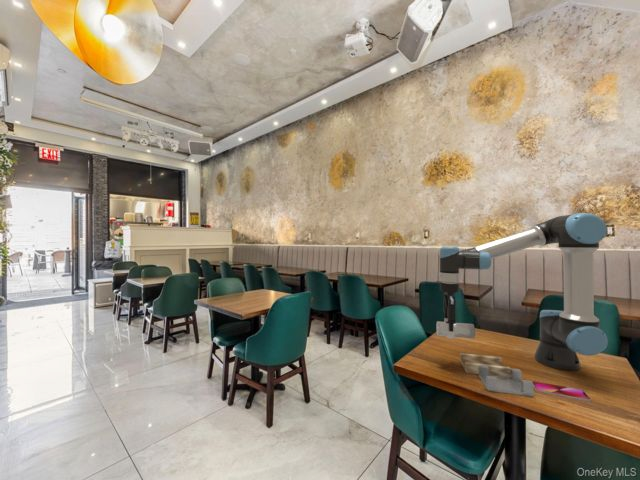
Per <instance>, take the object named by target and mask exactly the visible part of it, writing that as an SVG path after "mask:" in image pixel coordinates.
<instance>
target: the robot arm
mask: <svg viewBox="0 0 640 480" xmlns="http://www.w3.org/2000/svg"><path fill="white" fill-rule="evenodd" d="M606 224H607V223H606V222H605V221H604V219H602V218H601V217H600V216H598V215H597V214H594V213H587V212H585V213H583V212H581V213H580V212H578V213H573V214H567V215H559V216H555V217H552V218H551V219H548V220H545V221H543V222H540V223H538V224H535V225H532V226H531V227H530V229H526V230H522V231H521V232H520V231H519V232H517V233H514V234H511V235H507V236H504V237H501V238H498V239H496V240H493V241H489V242H486V243H483V244H479V245H477V246H474V247H471V248H467V249H461V250H460V248H459V247H458V246H442V247H440V249H439V274H438V277H439V281H440V282H439V291H441V292H443V296H442V297H443V305H442V306H443V308H442V309H443V311H442V312H443V314H442V315H443V317H444V318H443V319H444V321H443V322H446V323H447V336H446V339H447V340H449V339H450V340H455V337H454V323H457V322H456V302H457V300H456V296H454V293H459V291H460V284H459V282H460V269H461V270H480V271H481V270H489V269H490V268H491V266H492V259H495V258H498V257H503V256H506V255H509V254H513V253H516V252H518V251H522V250H525V249H529V248H533V247H536V246H540V247H543V246H546V245H553V244H558V249H559V250H560V251H562V252H563V310H555V309H542V310H540V312H539V317H538V318H539V344H537V345H538V346H537V348H536V350H535V352H534V359H535V361H537V362H538V363H540V364H543V365H545V366H547V367H550V368H553V369H557V370H564V371H579V370H580V368H581V361H580V358H579V357H578V355H577V354H579V355H583V356H586V357H587V356H596V355H599V354H601V352H604V350H606V349H607V347H608V343H609V340H608V336H607V334H606V333H605V332H604V331H603V330H602V329H601V328H600V327H601V326H600V325H601V324H600V319H599V317H597V316H596V315H595V314H594V313H595V311H594V310H595V309H594V308H595V303H594V301H595V300H594V299H595V298H594V297H595V296H594V289H595V288H594V287H595V286H594V282H595V281H594V252H596V251H597V250H598V249H599V248H600V242H601V241H602V240H603V239H604V238H605V237H606V236H607V233H608V227H607V225H606Z"/></svg>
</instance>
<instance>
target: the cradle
mask: <svg viewBox="0 0 640 480" xmlns="http://www.w3.org/2000/svg"><path fill="white" fill-rule="evenodd" d="M522 373H523V372H522V370H521V369H519V368H511V367H510V377H504V376H495V375H489V367H488V366H485V365H479V374H478V377H479V378H480V380H481V382H482V383H483V385H484V387H485V388H486V390H487V391H488V392H494V393H504V394H508V395H511V394H512V395H518V396H523V397H524V396H525V397H532V398H533V397H534V386H533V383H532V381H531V380H528V379H527V380H526V379H523V378H522V376H523V375H522Z"/></svg>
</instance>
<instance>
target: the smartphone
mask: <svg viewBox="0 0 640 480" xmlns="http://www.w3.org/2000/svg"><path fill="white" fill-rule="evenodd" d="M531 382H532V383H533V389H534V390H535V391H537V392H539V393H544V394H547V395H549V394H550V395H554V396H559V397H564V398H569V399H572V400H573V399H574V400H579V401H584V402H589V403H590V402H591V398H590V396H589V395H588V394H587V393H586V392H585V391H584V390H583V389H580V388H575V387H570V386H566V385H565V386H563V385H559V384H552V383H546V382H540V381H531Z"/></svg>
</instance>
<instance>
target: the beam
mask: <svg viewBox="0 0 640 480" xmlns="http://www.w3.org/2000/svg"><path fill="white" fill-rule="evenodd" d="M459 362H460V363H461V366H462V368H463V370H464V371H465V373H466V374H473V375H474V374H475V375H479V365H485V366H488V367H489V375H495V376H504V377H510V368H511V367H510V366H504V365H503V358H502V357H500V356H494V355H483V354H473V353H463V352H459Z"/></svg>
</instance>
